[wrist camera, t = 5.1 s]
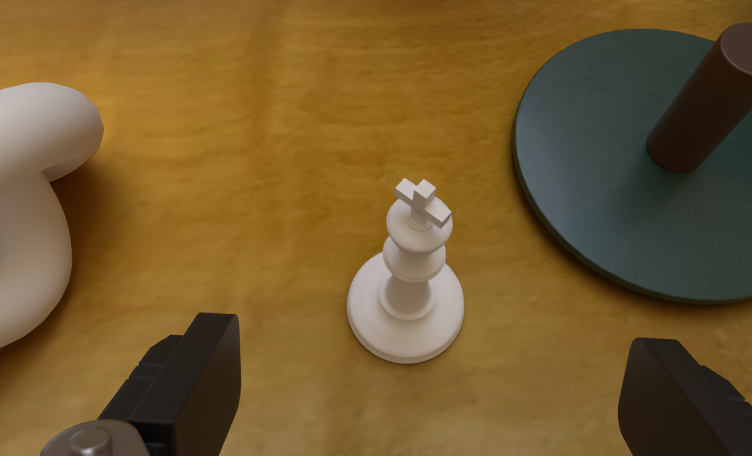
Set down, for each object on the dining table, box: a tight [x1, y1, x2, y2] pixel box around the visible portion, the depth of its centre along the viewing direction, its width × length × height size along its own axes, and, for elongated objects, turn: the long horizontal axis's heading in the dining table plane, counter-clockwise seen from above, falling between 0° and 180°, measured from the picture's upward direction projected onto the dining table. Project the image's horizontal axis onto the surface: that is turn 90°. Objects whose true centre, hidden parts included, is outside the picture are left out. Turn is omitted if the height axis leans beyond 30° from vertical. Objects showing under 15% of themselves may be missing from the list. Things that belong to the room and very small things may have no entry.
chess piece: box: [347, 178, 464, 364], centre depth 21 cm, size 5×5×10 cm
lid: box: [512, 23, 752, 305], centre depth 25 cm, size 15×15×8 cm
